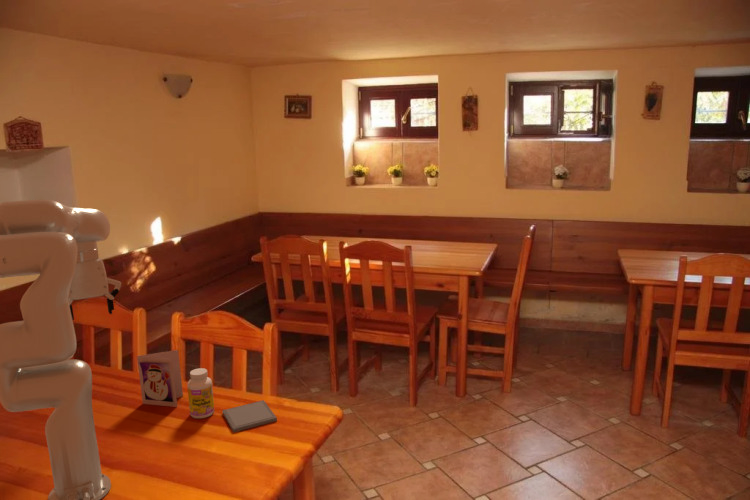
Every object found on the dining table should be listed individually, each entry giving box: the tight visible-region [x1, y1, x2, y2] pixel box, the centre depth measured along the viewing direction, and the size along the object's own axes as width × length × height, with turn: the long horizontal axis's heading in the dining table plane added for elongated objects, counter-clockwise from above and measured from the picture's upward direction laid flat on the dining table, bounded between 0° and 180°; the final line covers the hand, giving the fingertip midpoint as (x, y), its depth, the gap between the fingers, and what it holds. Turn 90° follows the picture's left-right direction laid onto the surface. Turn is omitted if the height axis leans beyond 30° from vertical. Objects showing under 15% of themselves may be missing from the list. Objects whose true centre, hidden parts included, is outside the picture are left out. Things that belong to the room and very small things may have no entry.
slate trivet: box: [222, 399, 278, 433], centre depth 166 cm, size 12×12×1 cm
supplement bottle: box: [187, 367, 215, 419], centre depth 167 cm, size 7×7×13 cm
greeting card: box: [136, 349, 184, 408], centre depth 176 cm, size 11×7×15 cm, turn 76°
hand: (91, 315), depth 165 cm, fingers open, 9 cm apart
